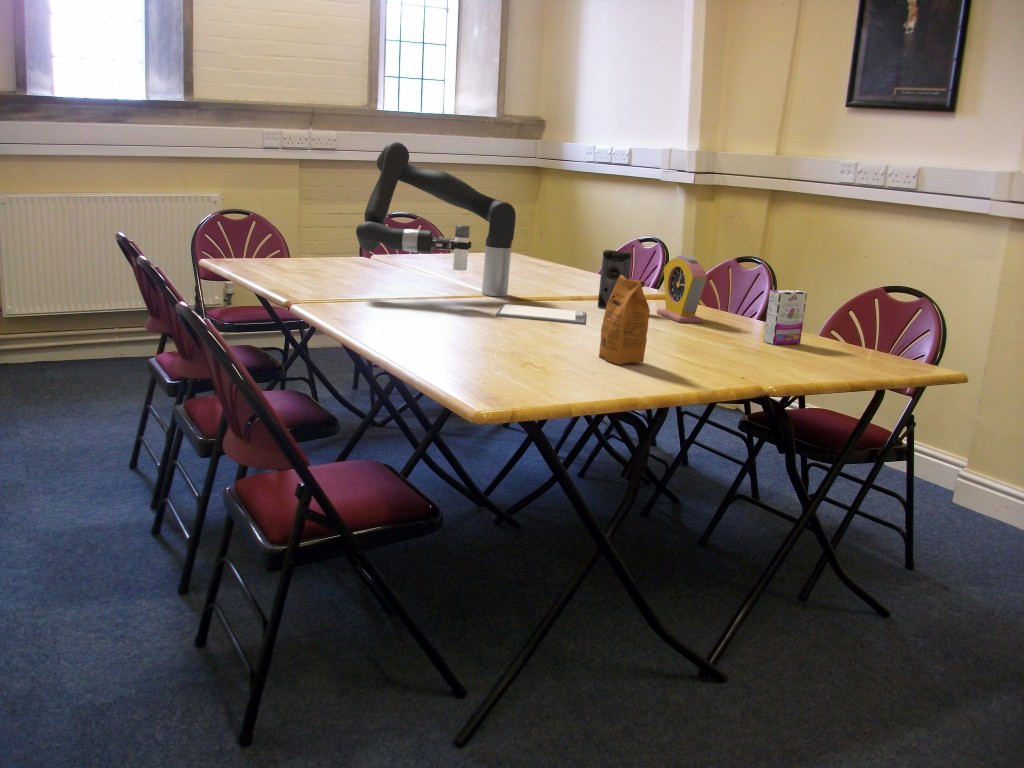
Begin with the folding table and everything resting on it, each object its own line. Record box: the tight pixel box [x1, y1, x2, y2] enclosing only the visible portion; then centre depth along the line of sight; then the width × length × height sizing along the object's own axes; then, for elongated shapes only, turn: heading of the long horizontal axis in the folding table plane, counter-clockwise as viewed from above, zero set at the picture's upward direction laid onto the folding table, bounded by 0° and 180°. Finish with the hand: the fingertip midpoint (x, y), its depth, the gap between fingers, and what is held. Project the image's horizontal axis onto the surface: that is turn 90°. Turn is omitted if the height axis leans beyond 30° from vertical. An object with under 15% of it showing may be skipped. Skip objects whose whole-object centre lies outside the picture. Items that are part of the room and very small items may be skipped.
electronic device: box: [597, 249, 632, 310], centre depth 341 cm, size 9×6×20 cm, turn 68°
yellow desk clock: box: [656, 254, 708, 324], centre depth 331 cm, size 22×9×22 cm, turn 18°
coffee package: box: [598, 275, 651, 366], centre depth 254 cm, size 10×12×22 cm
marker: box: [452, 224, 471, 272], centre depth 317 cm, size 5×5×14 cm
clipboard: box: [495, 303, 586, 325], centre depth 318 cm, size 22×28×2 cm
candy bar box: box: [763, 289, 808, 346], centre depth 301 cm, size 11×5×16 cm, turn 117°
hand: (469, 245), depth 317 cm, fingers closed on marker, 4 cm apart
